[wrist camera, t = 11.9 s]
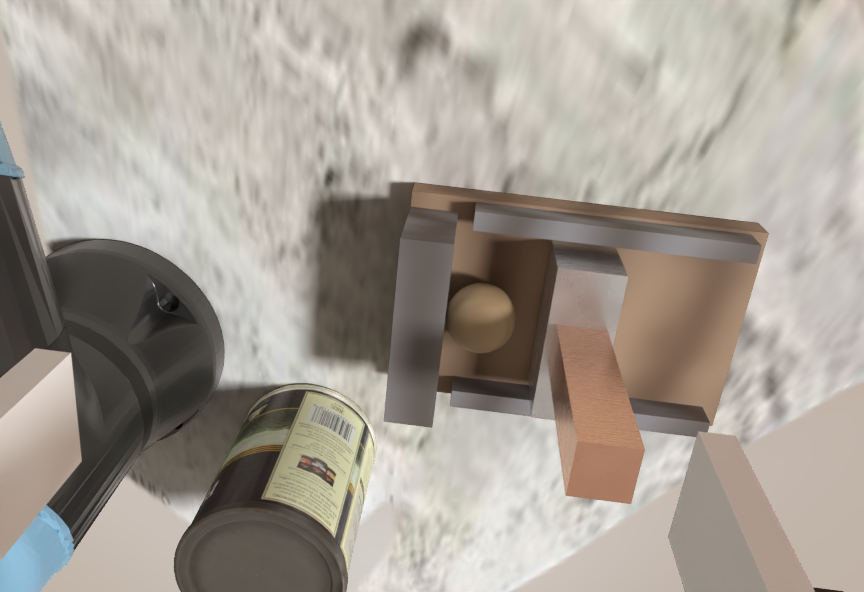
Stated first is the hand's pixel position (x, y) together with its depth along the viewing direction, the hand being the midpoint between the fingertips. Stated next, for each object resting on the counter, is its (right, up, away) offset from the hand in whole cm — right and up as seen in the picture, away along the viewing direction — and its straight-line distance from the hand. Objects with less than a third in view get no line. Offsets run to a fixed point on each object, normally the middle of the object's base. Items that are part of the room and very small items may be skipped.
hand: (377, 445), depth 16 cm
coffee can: (-8, -8, +42) cm, 44 cm away
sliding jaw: (+10, +2, +34) cm, 35 cm away
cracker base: (+10, +3, +36) cm, 37 cm away
